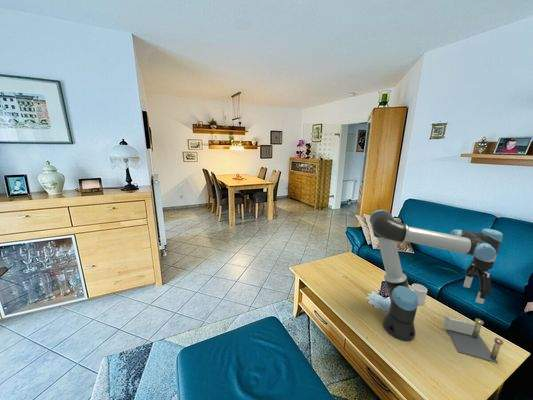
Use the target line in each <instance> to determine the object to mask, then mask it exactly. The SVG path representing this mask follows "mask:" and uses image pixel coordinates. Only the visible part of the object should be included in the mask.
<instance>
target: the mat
mask: <svg viewBox="0 0 533 400" xmlns="http://www.w3.org/2000/svg"><path fill="white" fill-rule="evenodd" d="M445 330H446V332H447V334H448V336H449V337H450V339H451V342H452V344H453V346H454V348H455V349H456V350H457V353H458V354H462V355H466V356H470V357H474V358H477V359H481V360H484V361H488V362H492V363H494V364H498V363H499V362H498V360H497V359H496V360H493V359H492V358H490V355H491V352H492V350H490V349H489V347H488V345H487V344H486V343H485V341H484V339H482V337H481V335H480V334H479V336H478V339H475V338H473V337H472V335H468V334H464V333H460V332H456V331H452V330H448V329H445Z"/></svg>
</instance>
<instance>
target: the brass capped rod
mask: <svg viewBox="0 0 533 400" xmlns="http://www.w3.org/2000/svg"><path fill="white" fill-rule="evenodd" d="M493 340H494V343H493V347H492V350H491V355H490V358H492V359H493V360H497V358H498V355H499V352H500V349H501V347H502V345H503V344H504V340H502V339H501V338H498V337H494V339H493Z"/></svg>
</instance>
